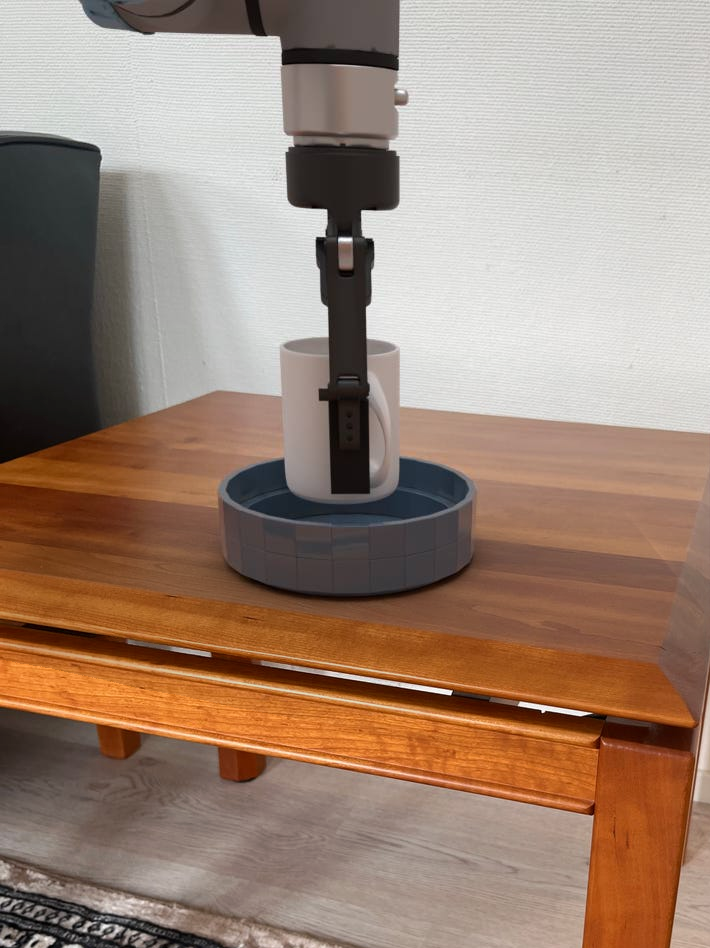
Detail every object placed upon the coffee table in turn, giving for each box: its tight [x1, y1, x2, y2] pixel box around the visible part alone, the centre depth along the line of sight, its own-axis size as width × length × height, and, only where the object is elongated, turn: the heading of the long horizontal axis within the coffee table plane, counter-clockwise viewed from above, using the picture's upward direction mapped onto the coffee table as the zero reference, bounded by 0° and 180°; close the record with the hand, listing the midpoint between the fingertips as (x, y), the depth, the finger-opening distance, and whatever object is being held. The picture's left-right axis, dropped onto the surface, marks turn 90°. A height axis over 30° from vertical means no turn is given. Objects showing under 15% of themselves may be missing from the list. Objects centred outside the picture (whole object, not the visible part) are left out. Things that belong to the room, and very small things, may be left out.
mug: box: [279, 336, 401, 504], centre depth 75 cm, size 9×12×11 cm
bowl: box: [216, 455, 478, 597], centre depth 78 cm, size 19×19×6 cm
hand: (349, 470), depth 77 cm, fingers closed on mug, 11 cm apart
